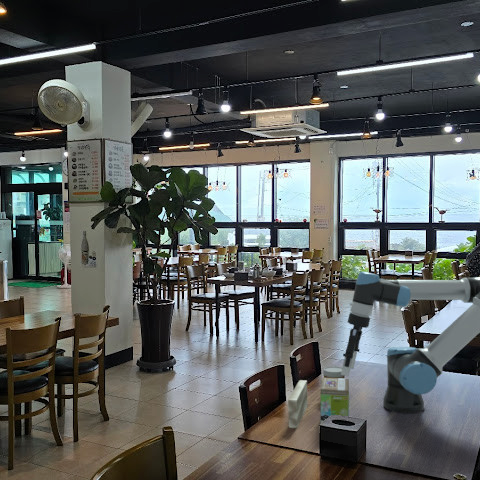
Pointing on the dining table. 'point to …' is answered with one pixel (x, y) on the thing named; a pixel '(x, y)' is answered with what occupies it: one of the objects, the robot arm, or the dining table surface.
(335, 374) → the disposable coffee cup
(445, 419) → the dining table surface
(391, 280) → the robot arm
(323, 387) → the tea box
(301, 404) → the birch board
